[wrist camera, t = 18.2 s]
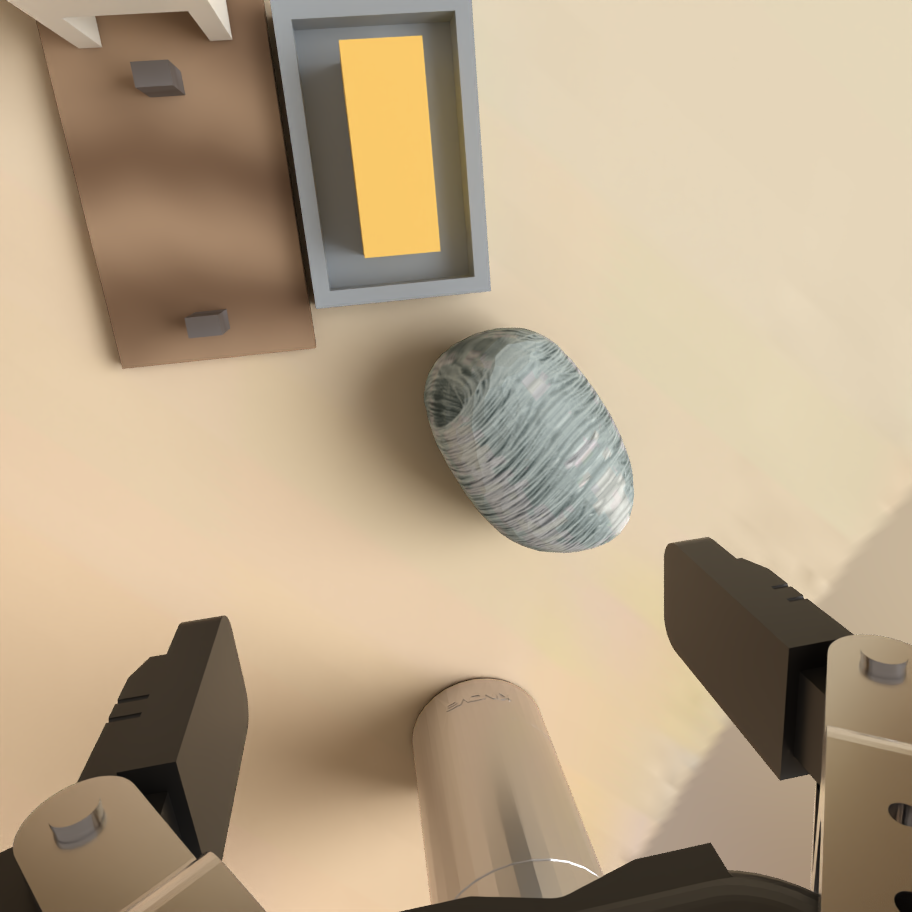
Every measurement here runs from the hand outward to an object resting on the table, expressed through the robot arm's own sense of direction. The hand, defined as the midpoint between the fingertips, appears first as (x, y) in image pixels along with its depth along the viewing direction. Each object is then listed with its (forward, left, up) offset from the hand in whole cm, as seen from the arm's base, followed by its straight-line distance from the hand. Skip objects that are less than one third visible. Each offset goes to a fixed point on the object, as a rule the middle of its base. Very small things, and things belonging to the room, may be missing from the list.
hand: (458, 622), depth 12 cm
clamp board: (+10, +9, -28) cm, 31 cm away
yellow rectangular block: (+10, -1, -27) cm, 29 cm away
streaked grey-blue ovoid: (-5, -7, -28) cm, 29 cm away
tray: (+10, -1, -28) cm, 30 cm away
